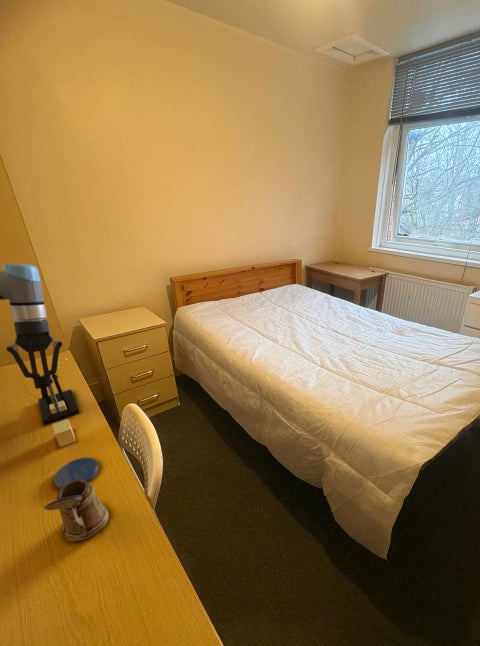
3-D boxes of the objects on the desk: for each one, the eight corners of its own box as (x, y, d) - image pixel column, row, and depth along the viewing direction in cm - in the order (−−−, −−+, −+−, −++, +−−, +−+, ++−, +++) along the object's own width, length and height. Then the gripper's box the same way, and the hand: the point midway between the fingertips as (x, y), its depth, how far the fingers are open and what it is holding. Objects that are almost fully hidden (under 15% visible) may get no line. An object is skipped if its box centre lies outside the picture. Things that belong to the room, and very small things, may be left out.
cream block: (67, 412, 108) (64, 405, 106) (53, 417, 106) (50, 409, 104) (66, 407, 110) (63, 400, 109) (52, 412, 108) (49, 404, 107)
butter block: (60, 447, 96) (54, 434, 94) (57, 436, 100) (52, 424, 98) (75, 441, 98) (70, 428, 96) (72, 431, 102) (67, 418, 100)
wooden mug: (59, 568, 66) (25, 511, 57) (67, 515, 76) (39, 460, 68) (108, 549, 69) (83, 492, 61) (109, 500, 80) (88, 446, 72)
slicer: (79, 413, 110) (66, 379, 104) (44, 425, 104) (28, 390, 98) (72, 392, 121) (60, 360, 115) (39, 402, 115) (25, 369, 109)
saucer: (46, 489, 83) (44, 486, 82) (71, 460, 91) (69, 457, 91) (85, 490, 83) (83, 487, 82) (105, 460, 91) (104, 457, 91)
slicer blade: (71, 414, 105) (70, 411, 103) (49, 421, 102) (47, 418, 100) (57, 374, 110) (56, 370, 108) (36, 380, 107) (34, 376, 105)
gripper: (57, 317, 98) (70, 390, 103) (0, 320, 90) (17, 399, 95) (59, 319, 93) (72, 395, 98) (-1, 323, 85) (16, 406, 90)
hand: (45, 397), depth 96 cm, fingers closed
